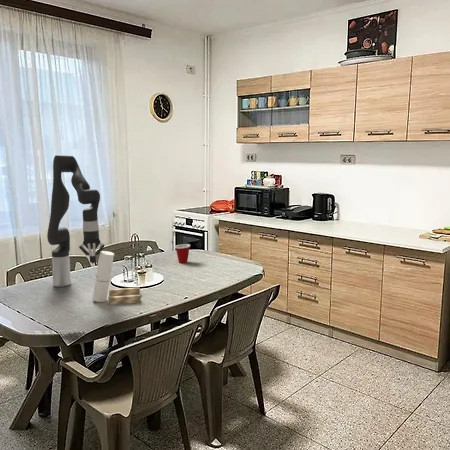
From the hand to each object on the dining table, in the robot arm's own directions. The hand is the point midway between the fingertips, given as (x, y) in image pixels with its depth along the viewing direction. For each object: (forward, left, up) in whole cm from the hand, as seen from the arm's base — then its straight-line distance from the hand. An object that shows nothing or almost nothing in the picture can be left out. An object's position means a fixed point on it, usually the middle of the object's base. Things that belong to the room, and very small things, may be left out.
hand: (92, 262), depth 225 cm
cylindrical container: (+2, 0, -20) cm, 20 cm away
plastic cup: (+54, +66, -21) cm, 88 cm away
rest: (+15, 0, -20) cm, 25 cm away
